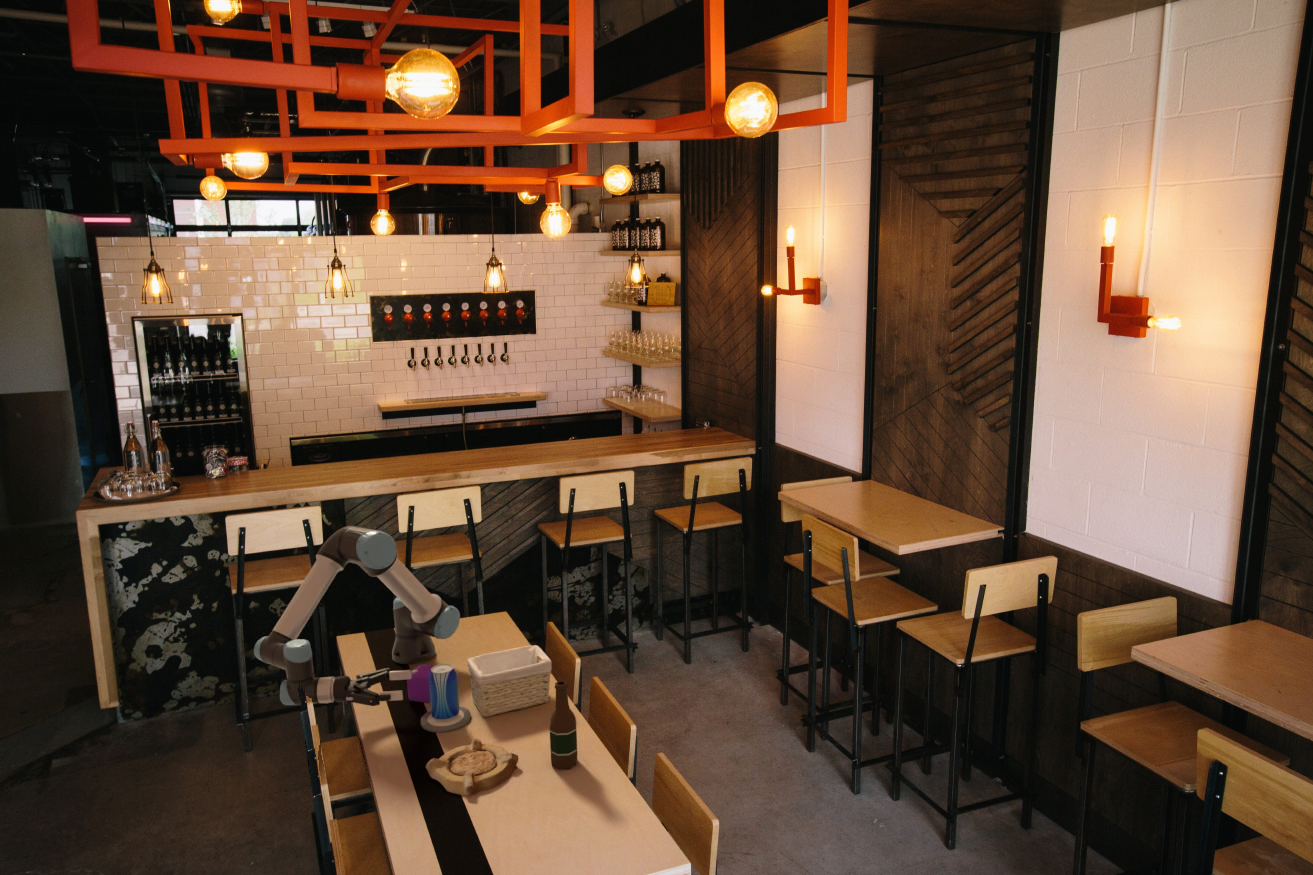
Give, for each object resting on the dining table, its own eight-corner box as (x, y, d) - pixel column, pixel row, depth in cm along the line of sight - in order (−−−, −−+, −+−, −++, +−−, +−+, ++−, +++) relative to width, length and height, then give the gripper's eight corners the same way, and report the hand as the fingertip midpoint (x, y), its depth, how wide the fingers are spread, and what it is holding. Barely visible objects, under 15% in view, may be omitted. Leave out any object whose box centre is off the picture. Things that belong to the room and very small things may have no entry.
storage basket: (538, 683, 292) (536, 642, 289) (555, 703, 278) (553, 660, 275) (468, 699, 281) (465, 657, 279) (481, 721, 267) (478, 676, 264)
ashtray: (441, 807, 224) (439, 789, 223) (420, 763, 245) (419, 747, 244) (528, 781, 235) (528, 764, 234) (501, 741, 256) (501, 725, 255)
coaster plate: (425, 709, 275) (425, 706, 275) (473, 706, 276) (473, 703, 276) (416, 733, 260) (416, 730, 260) (467, 730, 262) (467, 727, 261)
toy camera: (452, 685, 292) (450, 657, 290) (438, 705, 278) (436, 675, 276) (421, 684, 293) (419, 656, 291) (405, 704, 279) (403, 675, 278)
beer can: (434, 710, 272) (430, 663, 269) (461, 709, 273) (458, 661, 270) (429, 724, 264) (425, 675, 261) (457, 722, 265) (454, 673, 262)
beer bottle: (583, 758, 245) (579, 678, 241) (571, 772, 238) (567, 690, 234) (558, 753, 248) (554, 674, 243) (545, 768, 240) (541, 687, 236)
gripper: (347, 681, 276) (415, 677, 278) (324, 721, 252) (399, 716, 254) (344, 659, 275) (413, 655, 277) (322, 697, 250) (397, 692, 252)
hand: (406, 684), depth 265 cm, fingers open, 13 cm apart
